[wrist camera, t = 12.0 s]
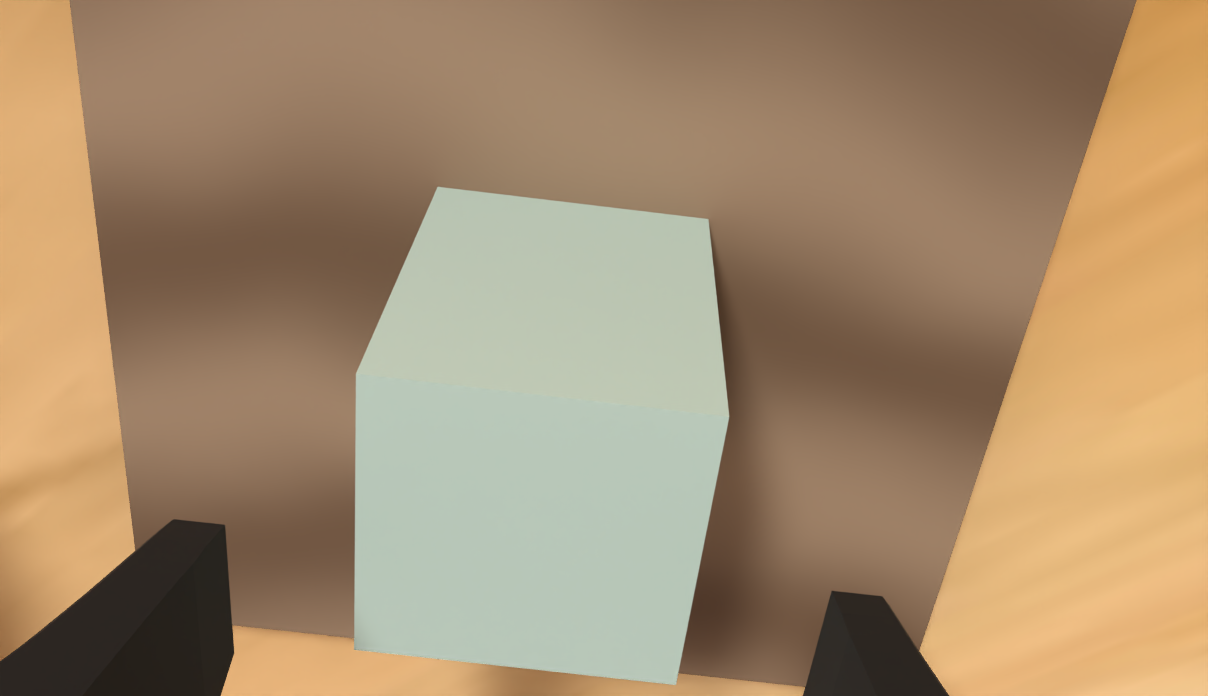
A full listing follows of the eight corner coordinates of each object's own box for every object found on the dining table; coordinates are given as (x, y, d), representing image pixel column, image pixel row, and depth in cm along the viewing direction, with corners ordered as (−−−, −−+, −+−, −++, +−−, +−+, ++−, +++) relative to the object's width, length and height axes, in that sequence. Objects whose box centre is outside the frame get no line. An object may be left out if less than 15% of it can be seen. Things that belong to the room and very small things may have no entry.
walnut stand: (886, 630, 26) (903, 697, 24) (177, 552, 26) (143, 615, 24) (1121, -124, 18) (1171, -105, 16) (100, -251, 18) (39, -245, 16)
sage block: (670, 442, 21) (675, 684, 16) (427, 414, 21) (354, 649, 16) (707, 218, 19) (729, 416, 14) (437, 187, 19) (355, 373, 14)
